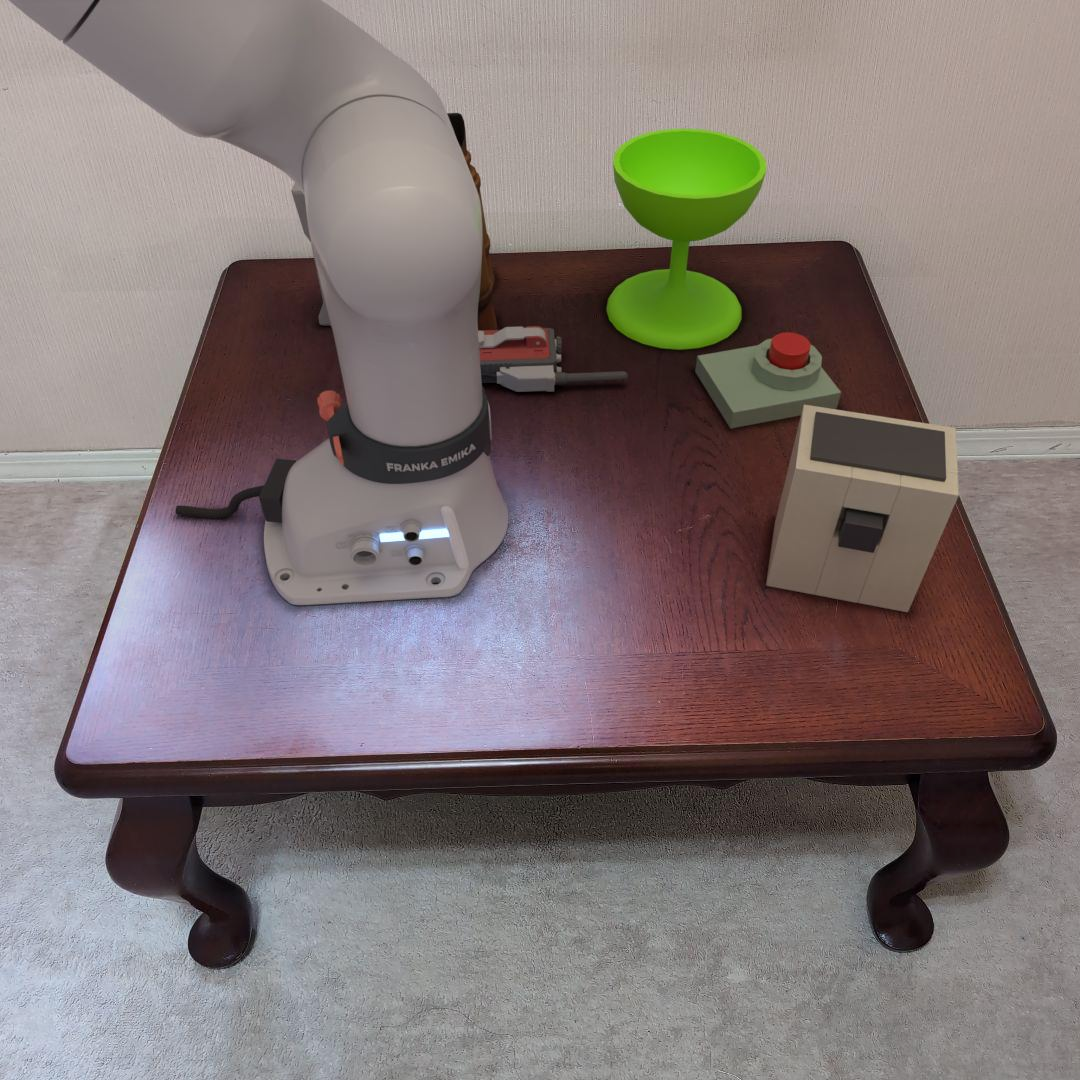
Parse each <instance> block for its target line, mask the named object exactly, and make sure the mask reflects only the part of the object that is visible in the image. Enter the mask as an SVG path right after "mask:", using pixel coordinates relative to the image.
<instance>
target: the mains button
mask: <svg viewBox="0 0 1080 1080" xmlns="http://www.w3.org/2000/svg"><path fill="white" fill-rule="evenodd" d="M771 339H772V341H771V345H770V350H769V355H768V359H769V362H770V363H771V364H772V365H774V366H776V367H778V368H781V369H788V370H796V369H802V368H803V367H804V366H805V365H806V364H807V360H808V355H809V351H810V347H811V345H812V344H811V342H810V341H809V339H808V338H807V337H806V336H804V335H802V334H799V333H796V332H791V331H788V332H787V331H786V332H780V333H778V334H775V335H774V336H773V337H772V338H771Z"/></svg>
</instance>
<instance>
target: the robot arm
mask: <svg viewBox="0 0 1080 1080" xmlns="http://www.w3.org/2000/svg"><path fill="white" fill-rule="evenodd" d="M8 1H9V3H11V4H12V5H13V6H14V7H16V8H17V9H18V10H20V11H21V12H22V13H23V14H25V16H27V17H28V18H29V19H30V20H32V21H33V22H34V23H36V25H38V26H40V27H41V28H42V29H44V30H45V31H46V32H48V34H50V35H52V36H53V37H54V38H55V39H57V40H58V41H62V44H64V45H65V46H66V47H67V48H69V49H70V50H72V51H73V52H75V53H76V54H77V55H79V56H80V57H81V58H83V59H84V60H86V61H87V62H88V63H89V64H91V65H92V66H94V67H95V68H96V69H97V70H99V71H100V72H102V73H103V74H104V75H106V76H107V77H108V78H110V79H111V80H112V81H113V82H115V83H117V84H118V85H120V86H121V87H122V88H123V89H125V90H126V91H128V92H129V93H130V94H132V95H133V96H135V98H137V99H139V100H140V101H141V102H143V103H144V104H146V105H147V106H148V107H150V108H151V109H152V110H153V111H155V112H156V113H157V114H159V115H160V116H162V117H163V118H165V119H166V120H167V121H169V122H170V123H171V124H173V125H174V126H175V127H176V128H178V129H179V130H180V131H182V132H184V133H187V134H189V135H191V136H194V137H197V138H205V139H209V138H210V139H216V140H218V141H221V142H225V143H226V144H230V145H232V146H234V147H236V148H238V149H241V150H243V151H244V152H247V153H249V154H251V155H253V156H255V157H257V158H260V159H261V160H263V161H265V162H267V163H268V164H271V165H272V166H274V167H276V168H277V169H278V170H280V171H282V172H283V173H284V174H285V175H286V176H288V177H289V178H290V179H291V180H292V181H293V183H296V184H297V186H298V187H299V188H300V189H301V191H302V192H303V194H304V195H305V203H306V212H307V220H308V228H309V233H310V238H311V242H310V244H311V243H312V246H311V248H312V247H313V250H312V253H313V252H314V255H313V257H314V256H315V260H316V265H317V269H318V274H319V278H320V282H321V286H322V291H323V295H324V299H325V303H326V307H327V311H328V315H329V319H330V323H331V326H330V327H331V330H332V334H333V338H334V343H335V348H336V353H337V359H338V363H339V368H340V373H341V378H342V383H343V389H344V392H345V398H346V400H345V402H344V403H343V404H342V397H341V394H339V393H337V391H335V390H324V391H322V392H321V393H319V396H318V397H317V400H316V401H317V406H318V408H319V411H318V412H319V416H320V417H321V418H322V420H324V421H327V422H326V426H327V427H326V428H327V435H328V438H326V439H325V440H324V441H322V442H321V443H320V444H319V445H317V446H316V447H314V448H313V449H312V450H310V451H309V452H307V453H306V454H305V455H303V456H302V457H301V458H299V459H298V460H296V459H287V458H276V459H275V461H274V463H273V465H272V467H271V470H270V471H269V473H268V476H267V478H266V479H265V482H264V484H263V485H259V486H253V487H249V488H245V489H243V490H241V491H239V492H237V493H236V494H234V495H233V496H232V497H231V498H230V501H229V503H228V505H227V506H225V507H222V508H221V507H220V508H204V507H198V506H197V507H196V506H189V505H179V504H178V505H176V506H175V514H176V515H177V516H187V517H194V518H200V519H207V520H214V519H215V520H217V519H225V518H228V517H231V516H233V515H235V514H236V512H238V510H239V508H240V505H241V504H242V503H243V502H244V501H246V500H249V499H253V498H258V500H259V503H260V506H261V509H262V512H263V516H264V518H265V522H264V527H263V549H264V556H265V563H266V567H267V572H268V575H269V577H270V580H271V582H272V585H273V586H274V588H275V589H276V590H275V591H277V592H278V593H279V595H280V596H281V597H282V598H283V599H284V600H286V602H288V603H289V604H290V605H293V606H311V605H312V606H313V605H331V604H349V603H363V602H364V603H365V602H381V601H399V600H400V601H401V600H415V599H416V600H417V599H418V600H419V599H434V598H435V599H437V598H450V597H454V596H457V595H459V594H460V593H461V592H462V591H463V590H464V589H465V587H466V586H467V584H468V583H469V581H470V578H471V576H472V574H473V572H474V571H475V570H476V569H477V568H478V567H479V566H480V565H481V564H482V563H484V562H485V561H486V560H488V559H489V558H490V557H491V556H492V555H493V554H494V553H495V552H496V550H498V548H499V547H500V545H501V544H502V542H503V540H504V539H505V537H506V534H507V531H508V528H509V522H510V520H509V519H510V516H509V515H510V514H509V508H508V505H507V503H506V501H505V499H504V497H503V495H502V492H501V491H500V488H499V485H498V483H497V480H496V476H495V473H494V468H493V465H492V462H491V456H490V455H491V453H492V440H493V432H492V431H493V430H492V416H491V408H490V403H489V400H488V398H487V395H486V392H485V389H484V386H483V383H482V382H481V368H480V353H479V338H478V303H479V294H480V283H481V262H482V241H483V230H482V213H481V203H480V198H479V195H478V192H477V189H476V186H475V184H474V181H473V178H472V176H471V173H470V170H469V168H468V165H467V163H466V160H465V157H464V155H463V152H462V150H461V147H460V145H459V143H458V141H457V138H456V136H455V133H454V130H453V128H452V125H451V122H450V120H449V117H448V115H447V113H448V112H447V109H446V107H445V105H444V103H443V100H442V99H441V97H440V96H439V94H438V93H437V92H436V90H435V89H434V88H433V86H432V85H431V84H430V83H429V82H428V80H426V79H425V78H424V77H423V75H422V74H420V73H419V72H418V71H417V70H416V69H415V68H414V67H412V66H411V64H409V63H408V62H406V61H405V60H404V59H402V58H401V57H399V56H398V55H396V54H395V53H393V52H392V51H391V50H389V49H388V48H387V47H386V46H385V45H383V44H382V43H381V42H379V41H378V40H377V39H376V38H374V37H373V36H372V35H371V34H369V33H368V32H367V31H365V30H364V29H363V28H362V27H360V26H359V25H358V24H356V23H354V22H353V21H352V20H351V19H349V18H348V17H346V16H345V15H344V14H342V13H341V12H339V11H338V10H337V9H335V8H334V7H332V6H331V5H329V4H328V3H327V2H325V1H324V0H8ZM315 260H314V261H315ZM316 265H315V266H316Z"/></svg>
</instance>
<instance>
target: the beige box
mask: <svg viewBox="0 0 1080 1080" xmlns="http://www.w3.org/2000/svg"><path fill="white" fill-rule="evenodd" d="M791 451H792V452H791V455H790V459H789V463H788V467H787V472H786V475H785V480H784V483H783V486H782V487H783V488H782V490H781V491H782V492H781V495H780V500H779V504H778V508H777V513H776V516H775V521H774V527H773V534H772V539H771V540H772V541H771V548H770V556H769V562H768V568H767V569H768V570H767V576H766V582H765V586H766V587H771V588H777V589H781V590H785V591H786V590H787V591H792V592H799V593H803V594H807V595H813V596H819V597H824V598H828V599H834V600H840V601H844V602H851V603H854V604H855V603H856V604H861V605H866V606H872V607H875V608H882V609H888V610H892V611H898V612H902V613H909V611H910V608H911V606H912V604H913V602H914V599H915V597H916V595H917V593H918V590H919V589H920V586H921V584H922V581H923V579H924V576H925V574H926V572H927V569H928V567H929V565H930V563H931V561H932V558H933V555H934V553H935V552H936V549H937V547H938V544H939V542H940V539H941V537H942V535H943V532H944V530H945V529H946V526H947V524H948V522H949V519H950V517H951V515H952V512H953V510H954V507H955V505H956V503H957V500H958V499H959V496H960V492H959V468H958V445H957V428H956V427H954V426H953V427H952V426H946V425H939V424H933V423H926V422H920V421H913V420H907V419H901V418H895V417H887V416H881V415H876V414H875V415H874V414H870V413H869V414H867V413H861V412H855V411H848V410H843V409H842V410H841V409H830V408H823V407H817V406H810V405H803V409H802V413H801V415H800V418H799V422H798V427H797V429H796V434H795V439H794V443H793V447H792V449H791ZM846 508H852V509H858V510H864V511H869V512H875V513H881V514H883V529H882V532H881V535H880V538H879V540H878V543H877V546H876V549H875V551H874V553H871V552H865V551H860V550H854V549H849V548H843V547H838V540H839V529H840V526H841V522H842V519H843V516H844V513H845V510H846Z"/></svg>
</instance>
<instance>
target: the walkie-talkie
mask: <svg viewBox="0 0 1080 1080" xmlns="http://www.w3.org/2000/svg"><path fill="white" fill-rule="evenodd" d="M478 338H479V353H480V368H481V382H482V384H497V385H500V386H502V387H504V388H507V389H509V390H512V391H514V392H516V393H518V392H519V393H522V392H525V393H526V392H548V393H549V392H550V393H551V392H552V393H553V392H555V386H565V385H567V384H580V383H581V384H582V383H583V384H584V383H585V384H586V383H602V382H603V381H614V380H615V381H616V380H617V381H619V380H627V379H628V377H629V374H628V373H627V372H626V371H624V370H623V371H596V372H571V373H567V372H563V371H562V370H563V369H562V366H558V365H557V364H558V363H562V355H563V354H562V353H563V346H562V337H561V336H556V337H555V330H554V328H552V327H542V326H539V325H531V326H530V325H529V326H527V325H526V326H525V327H524V326H505V327H503V328H502V329H497V330H480V331H478Z"/></svg>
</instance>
